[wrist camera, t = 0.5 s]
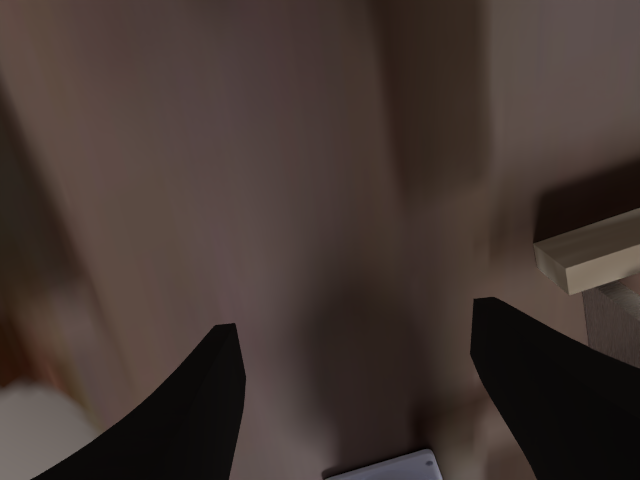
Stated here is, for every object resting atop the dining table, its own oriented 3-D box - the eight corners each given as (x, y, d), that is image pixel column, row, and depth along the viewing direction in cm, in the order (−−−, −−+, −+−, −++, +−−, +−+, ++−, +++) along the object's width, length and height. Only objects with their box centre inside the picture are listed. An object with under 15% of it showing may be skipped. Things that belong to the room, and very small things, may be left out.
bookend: (612, 384, 27) (676, 449, 23) (594, 389, 27) (654, 456, 23) (601, 269, 24) (674, 319, 19) (580, 276, 24) (648, 327, 19)
